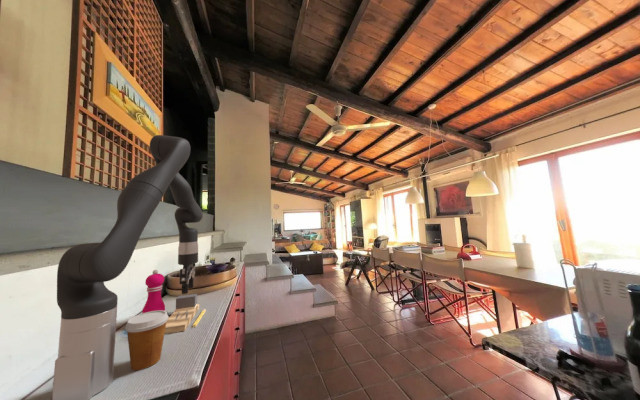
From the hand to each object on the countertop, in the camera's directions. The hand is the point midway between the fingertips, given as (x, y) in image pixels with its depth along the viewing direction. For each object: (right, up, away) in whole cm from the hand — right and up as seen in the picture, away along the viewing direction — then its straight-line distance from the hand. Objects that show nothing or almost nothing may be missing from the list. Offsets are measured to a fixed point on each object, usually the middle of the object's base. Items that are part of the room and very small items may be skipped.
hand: (187, 290), depth 94 cm
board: (+2, -8, -8) cm, 12 cm away
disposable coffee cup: (+10, -6, -35) cm, 36 cm away
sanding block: (0, -7, -1) cm, 7 cm away
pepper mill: (-8, -9, -9) cm, 15 cm away
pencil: (+9, -8, -8) cm, 15 cm away
